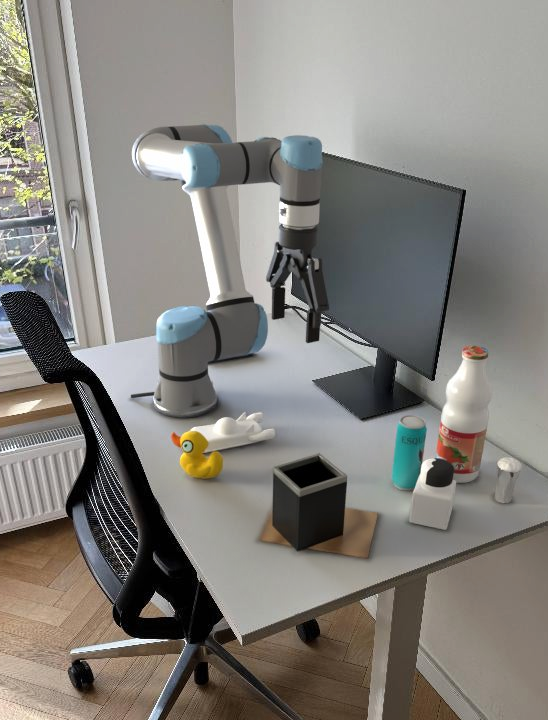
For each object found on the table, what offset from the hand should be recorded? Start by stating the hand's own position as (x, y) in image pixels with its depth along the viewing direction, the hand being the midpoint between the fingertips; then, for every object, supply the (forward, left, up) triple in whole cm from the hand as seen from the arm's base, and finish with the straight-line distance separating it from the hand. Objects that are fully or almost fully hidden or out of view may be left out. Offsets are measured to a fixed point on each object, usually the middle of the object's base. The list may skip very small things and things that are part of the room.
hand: (294, 329), depth 154 cm
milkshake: (+46, -9, -28) cm, 55 cm away
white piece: (-15, -2, -28) cm, 32 cm away
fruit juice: (+36, -1, -28) cm, 46 cm away
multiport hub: (-29, +43, -28) cm, 59 cm away
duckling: (-16, -17, -28) cm, 36 cm away
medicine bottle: (+32, -19, -28) cm, 47 cm away
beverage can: (+26, -9, -28) cm, 39 cm away
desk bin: (+7, -33, -21) cm, 40 cm away
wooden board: (+12, -28, -28) cm, 41 cm away
